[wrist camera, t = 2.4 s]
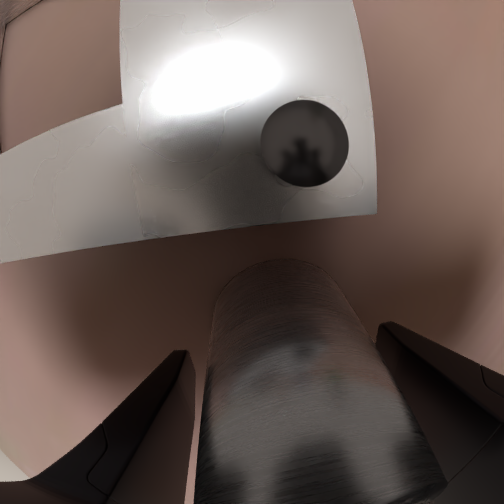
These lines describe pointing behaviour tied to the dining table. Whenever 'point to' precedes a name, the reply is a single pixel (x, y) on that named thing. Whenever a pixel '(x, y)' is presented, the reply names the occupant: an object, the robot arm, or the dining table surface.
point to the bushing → (304, 401)
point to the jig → (202, 130)
